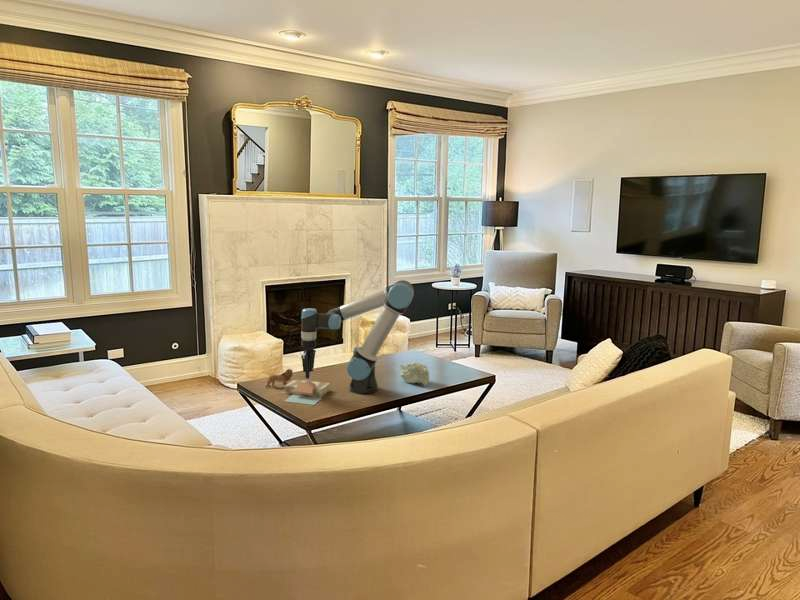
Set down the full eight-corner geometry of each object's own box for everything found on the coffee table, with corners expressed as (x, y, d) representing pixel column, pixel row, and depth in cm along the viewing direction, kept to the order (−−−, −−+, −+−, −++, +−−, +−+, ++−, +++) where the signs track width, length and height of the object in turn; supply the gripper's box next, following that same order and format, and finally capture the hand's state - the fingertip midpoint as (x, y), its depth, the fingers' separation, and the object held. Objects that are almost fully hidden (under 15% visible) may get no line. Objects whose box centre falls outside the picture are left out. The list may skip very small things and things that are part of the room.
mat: (322, 398, 293) (322, 397, 292) (314, 405, 282) (314, 404, 282) (293, 394, 296) (293, 394, 296) (283, 401, 286) (283, 401, 286)
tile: (316, 385, 295) (315, 383, 294) (312, 395, 291) (311, 393, 290) (299, 383, 297) (298, 381, 296) (295, 393, 293) (294, 391, 292)
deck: (329, 390, 305) (330, 383, 304) (321, 397, 293) (321, 390, 293) (294, 386, 310) (294, 379, 309) (284, 393, 298) (284, 385, 297)
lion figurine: (291, 383, 315) (291, 367, 313) (294, 386, 310) (294, 370, 309) (264, 386, 308) (264, 370, 307) (266, 389, 303) (266, 373, 302)
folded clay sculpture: (405, 393, 325) (394, 368, 326) (423, 384, 331) (412, 359, 332) (420, 389, 309) (408, 363, 310) (439, 380, 316) (427, 354, 317)
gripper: (307, 335, 300) (306, 379, 304) (296, 341, 288) (295, 386, 292) (320, 337, 298) (320, 381, 302) (310, 342, 286) (309, 388, 290)
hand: (308, 383), depth 297 cm, fingers closed
